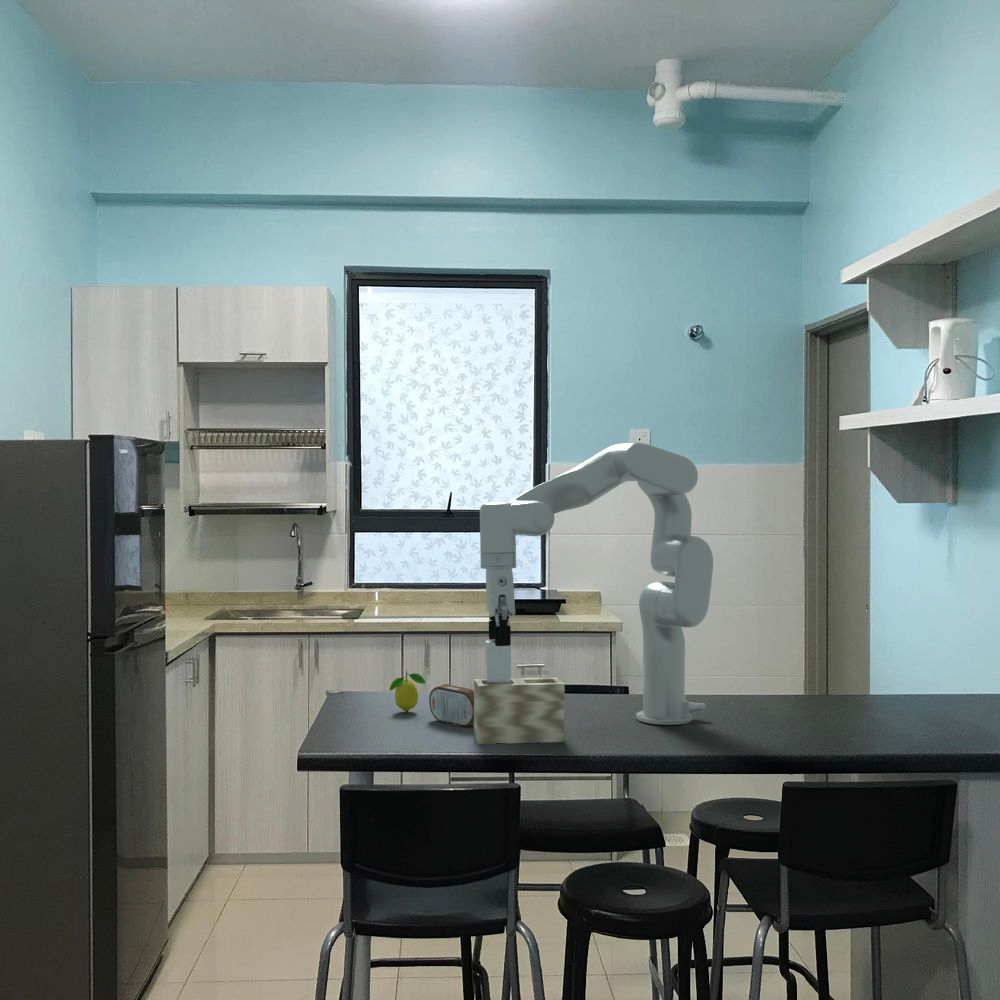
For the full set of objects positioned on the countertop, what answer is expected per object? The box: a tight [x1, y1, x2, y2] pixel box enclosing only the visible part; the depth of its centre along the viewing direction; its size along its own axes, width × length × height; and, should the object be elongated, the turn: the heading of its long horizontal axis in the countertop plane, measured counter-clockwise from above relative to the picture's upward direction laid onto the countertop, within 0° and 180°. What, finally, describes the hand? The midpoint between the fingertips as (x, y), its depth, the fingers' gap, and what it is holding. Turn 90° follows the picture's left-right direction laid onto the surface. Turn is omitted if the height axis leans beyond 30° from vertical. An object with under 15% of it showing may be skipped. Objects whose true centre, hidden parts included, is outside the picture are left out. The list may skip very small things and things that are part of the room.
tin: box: [428, 683, 474, 728], centre depth 225 cm, size 15×3×8 cm, turn 47°
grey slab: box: [484, 640, 512, 684], centre depth 210 cm, size 5×3×12 cm, turn 98°
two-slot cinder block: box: [473, 677, 565, 745], centre depth 211 cm, size 18×8×12 cm, turn 98°
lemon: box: [389, 669, 426, 712], centre depth 238 cm, size 7×6×10 cm
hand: (499, 642), depth 211 cm, fingers open, 9 cm apart
